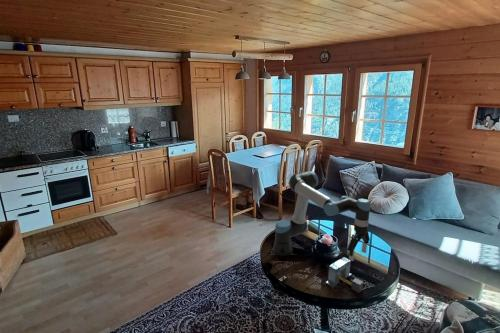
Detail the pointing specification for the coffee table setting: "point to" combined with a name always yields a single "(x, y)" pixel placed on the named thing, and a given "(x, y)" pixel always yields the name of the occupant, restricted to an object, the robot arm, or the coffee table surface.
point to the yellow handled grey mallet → (354, 284)
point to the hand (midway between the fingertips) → (357, 256)
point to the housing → (338, 271)
